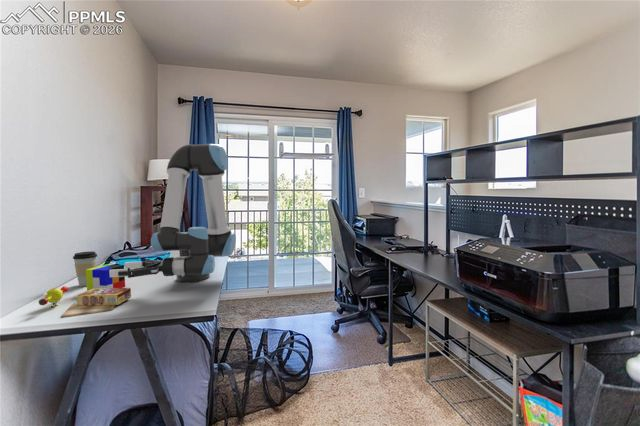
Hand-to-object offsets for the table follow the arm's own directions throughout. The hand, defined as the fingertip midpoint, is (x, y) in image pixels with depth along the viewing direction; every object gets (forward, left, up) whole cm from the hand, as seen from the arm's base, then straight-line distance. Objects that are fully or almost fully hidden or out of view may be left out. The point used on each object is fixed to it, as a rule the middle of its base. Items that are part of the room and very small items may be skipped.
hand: (117, 269), depth 129 cm
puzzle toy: (+7, -19, -12) cm, 24 cm away
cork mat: (+8, +7, -12) cm, 16 cm away
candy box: (-3, +6, -9) cm, 11 cm away
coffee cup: (+17, -33, -12) cm, 39 cm away
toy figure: (+21, -2, -12) cm, 25 cm away
